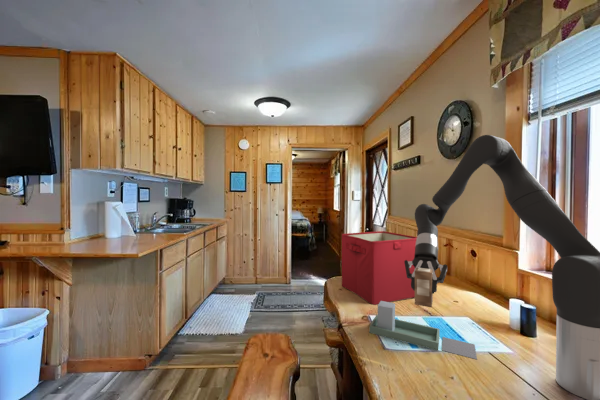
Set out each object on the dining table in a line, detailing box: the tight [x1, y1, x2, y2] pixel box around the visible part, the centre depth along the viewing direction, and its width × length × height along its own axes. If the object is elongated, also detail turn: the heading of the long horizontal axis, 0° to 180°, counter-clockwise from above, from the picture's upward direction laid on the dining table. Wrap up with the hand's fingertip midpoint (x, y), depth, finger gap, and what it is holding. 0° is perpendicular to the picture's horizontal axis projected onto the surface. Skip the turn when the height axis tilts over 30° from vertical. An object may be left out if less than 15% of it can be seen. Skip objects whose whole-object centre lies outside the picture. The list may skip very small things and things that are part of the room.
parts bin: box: [368, 314, 441, 351], centre depth 91 cm, size 21×10×3 cm, turn 60°
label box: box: [414, 268, 434, 308], centre depth 88 cm, size 5×6×11 cm
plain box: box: [377, 301, 396, 331], centre depth 94 cm, size 5×5×9 cm
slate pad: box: [441, 336, 478, 361], centre depth 83 cm, size 9×9×1 cm
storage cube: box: [341, 230, 417, 306], centre depth 133 cm, size 32×28×29 cm
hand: (423, 290), depth 86 cm, fingers closed on label box, 5 cm apart
